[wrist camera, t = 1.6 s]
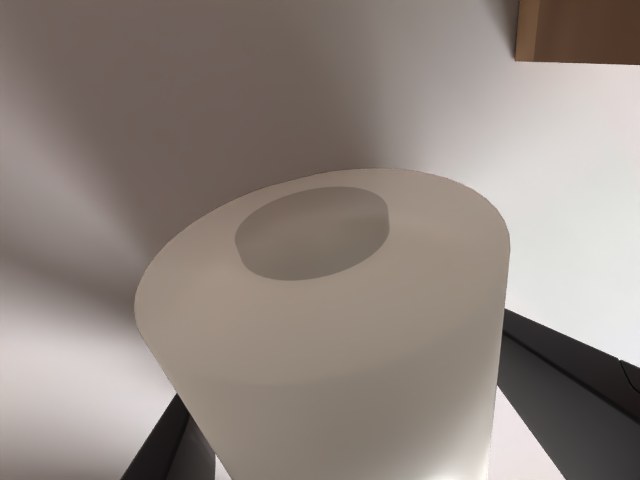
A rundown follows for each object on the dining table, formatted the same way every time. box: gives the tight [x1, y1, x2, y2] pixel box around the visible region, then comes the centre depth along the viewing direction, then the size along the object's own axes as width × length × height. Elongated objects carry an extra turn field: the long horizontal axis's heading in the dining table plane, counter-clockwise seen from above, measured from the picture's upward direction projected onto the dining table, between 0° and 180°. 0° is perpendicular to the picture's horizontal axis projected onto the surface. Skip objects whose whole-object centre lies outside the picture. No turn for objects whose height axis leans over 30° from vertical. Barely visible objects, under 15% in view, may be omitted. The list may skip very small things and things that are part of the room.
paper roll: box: [134, 168, 510, 480], centre depth 8 cm, size 10×6×6 cm, turn 10°
